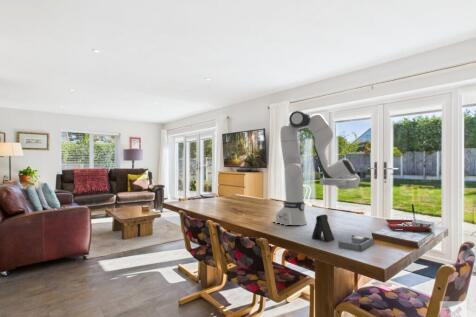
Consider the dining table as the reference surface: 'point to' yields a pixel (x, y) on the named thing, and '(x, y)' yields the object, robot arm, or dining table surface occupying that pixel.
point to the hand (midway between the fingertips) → (331, 182)
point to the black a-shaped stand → (322, 229)
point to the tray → (357, 247)
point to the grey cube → (358, 240)
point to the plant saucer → (394, 226)
